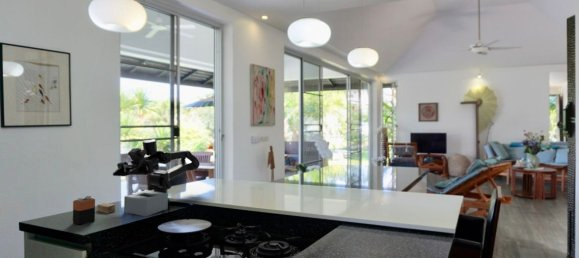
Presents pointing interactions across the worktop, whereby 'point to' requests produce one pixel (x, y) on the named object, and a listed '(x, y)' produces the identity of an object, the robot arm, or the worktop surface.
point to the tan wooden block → (106, 207)
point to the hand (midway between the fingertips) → (120, 174)
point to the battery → (84, 210)
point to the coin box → (145, 203)
